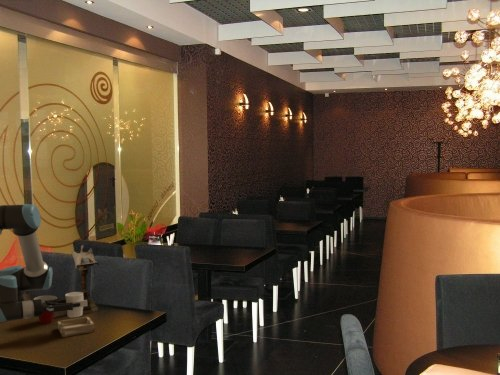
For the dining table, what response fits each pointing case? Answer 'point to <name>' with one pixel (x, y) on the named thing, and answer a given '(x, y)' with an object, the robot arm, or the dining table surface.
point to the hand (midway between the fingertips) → (85, 300)
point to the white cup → (73, 298)
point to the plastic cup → (46, 315)
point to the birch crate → (75, 326)
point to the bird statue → (84, 259)
